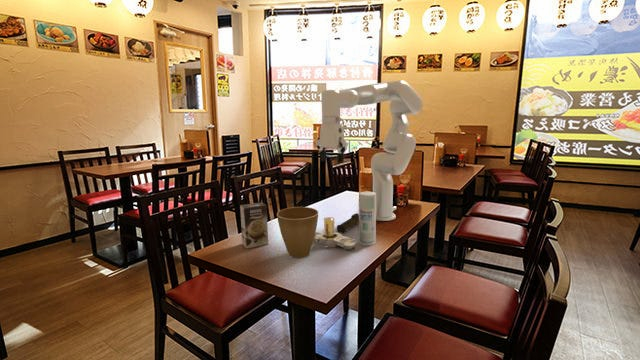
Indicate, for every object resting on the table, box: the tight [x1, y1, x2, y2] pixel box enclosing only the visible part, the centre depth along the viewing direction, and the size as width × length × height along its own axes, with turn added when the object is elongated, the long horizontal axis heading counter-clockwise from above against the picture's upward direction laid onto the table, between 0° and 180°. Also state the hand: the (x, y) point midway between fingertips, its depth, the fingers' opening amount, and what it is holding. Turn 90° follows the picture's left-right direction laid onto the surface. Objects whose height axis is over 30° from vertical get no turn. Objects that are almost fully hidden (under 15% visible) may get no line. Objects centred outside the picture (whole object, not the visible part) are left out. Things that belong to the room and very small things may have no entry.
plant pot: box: [276, 206, 319, 259], centre depth 128 cm, size 15×15×16 cm
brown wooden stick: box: [336, 213, 359, 234], centre depth 158 cm, size 19×4×5 cm, turn 147°
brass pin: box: [323, 216, 335, 238], centre depth 139 cm, size 4×4×10 cm
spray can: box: [358, 190, 377, 246], centre depth 137 cm, size 6×6×20 cm
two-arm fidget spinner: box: [313, 231, 357, 251], centre depth 140 cm, size 9×24×3 cm, turn 47°
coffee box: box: [239, 202, 269, 249], centre depth 139 cm, size 9×6×16 cm
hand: (331, 161), depth 149 cm, fingers open, 9 cm apart
